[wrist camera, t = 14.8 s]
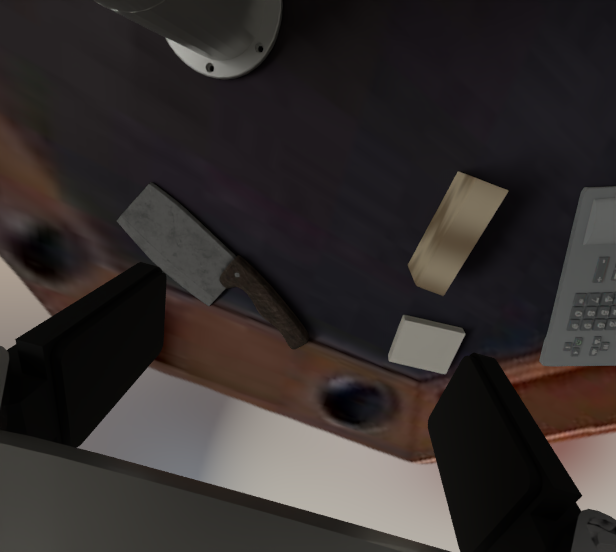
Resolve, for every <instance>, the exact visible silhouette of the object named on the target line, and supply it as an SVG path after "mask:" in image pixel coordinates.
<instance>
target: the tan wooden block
mask: <svg viewBox="0 0 616 552" xmlns="http://www.w3.org/2000/svg"><path fill="white" fill-rule="evenodd" d="M507 193H508V190H506V189H503V188H500V187H498V186H495V185H493V184H490V183H488V182H485V181H482V180H480V179H477V178H475V177H472V176H469V175H467V174H464V173H461V172H459V171H458V172H457V174H456V176H455V178H454V180H453V182H452V184H451V185H450V187H449V189H448V191H447V193H446V195H445V197H444V199H443V200H442V202H441V204H440V206H439V208H438V210H437V212H436V213H435V215H434V217H433V219H432V221H431V223H430V225H429V227H428V228H427V230H426V232H425V234H424V236H423V238H422V240H421V241H420V243H419V245H418V247H417V249H416V251H415V253H414V255H413V256H412V258H411V260H410V262H409V264H408V267H409V270H410V272H411V274H412V277H413V279H414V281H415V284H416V286H418V287H421V288H424V289H426V290H429V291H432V292H434V293H437V294H440V295H442V296H444V294H445V293H446V291H447V289H448V288H449V286H450V285H451V283H452V281H453V280H454V278H455V277H456V275H457V273H458V272H459V270H460V268H461V267H462V265H463V264H464V262H465V260H466V259H467V257H468V256H469V254H470V252H471V251H472V249H473V248H474V246H475V244H476V243H477V241H478V240H479V238H480V236H481V235H482V233H483V231H484V230H485V228H486V227H487V225H488V223H489V222H490V220H491V219H492V217H493V215H494V214H495V212H496V211H497V209H498V207H499V206H500V204H501V202H502V201H503V199H504V198H505V196H506V194H507Z"/></svg>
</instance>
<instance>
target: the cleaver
mask: <svg viewBox="0 0 616 552" xmlns="http://www.w3.org/2000/svg"><path fill="white" fill-rule="evenodd" d="M117 222H118V223H119V224H120V225H121V226H122V228H123V229H124V230H125V231H126V232H127V233H128V235H129V236H130V237H131V238H132V239H133V240H134V241H135V243H136V244H137V245H138V246H139V247H140V248H141V249H142V250H143V251H144V253H145V254H146V255H147V256H148V257H149V258H150V259H151V260H152V261H153V262H154V263H155V264H156V265H157V266H158V267H160V268H161V270H163V271H164V272H165V273H166V274H167V275H168V276H170V277H171V278H172V279H173V280H174V281H176V282H177V283H178V284H179V285H181V286H182V287H183V288H184V289H186V290H187V291H188V292H190V293H191V294H192V295H194V296H195V297H197V298H198V299H199V300H201V301H202V302H203V303H205V304H206V305H208V306H210V305H211V304H212V303H213V302H214V301H215V299H216V298H217V297H218V296H219V295H220V294H221V293H222V292H223V291H224V290H225V289H226V288H232V287H239V288H241V289H243V290H244V291H245V292H246V293H247V294H248V295H249V297H250V298H251V300H252V301H253V303H254V305H255V307H256V309H257V310H258V312H259V313H260V314H261V316H262V317H264V318H265V319H266V320H267V321H268V322H270V323H271V324H272V325H274V326H275V327H276V328H277V329H278V330H279V331H280V332H281V334H282V335H283V337H284V338H285V340H286V342H287V343H288V345H289V346H290V348H291V349H297V348H299V347H301V346H302V345H304V344H305V343H307V342H308V339H309V334H308V332H307V331H306V329H305V327H304V326H303V324H302V323H301V322H300V320H299V319H298V318H297V316H296V315H295V314H294V313H293V311H292V310H291V309H290V308H289V306H288V305H287V304H286V303H285V302H284V300H283V299H282V298H281V297H280V296H279V294H278V293H277V292H276V291H275V290H274V289H273V288H272V286H271V285H270V284H269V283H268V282H267V281H266V280H265V279H264V278H263V277H262V276H261V275H260V274H259V273H258V272H257V271H256V270H255V269H254V268H253V267H252V266H251V265H250V264H249V263H248V262H247V261H246V260H245V259H244V258H243V257H241V256H240V255H238V256H236V255H234V254H233V253H232V252H231V251H230V250H229V249H228V248H227V247H226V246H225V245H224V244H223V243H222V242H221V241H220V240H219V239H218V238H216V237H215V236H214V235H213V234H212V233H211V232H210V231H209V230H208V229H207V228H206V227H205V226H204V225H203V224H202V223H201V222H200V221H198V220H197V219H196V218H195V217H194V216H193V215H192V214H191V213H190V212H189V211H188V210H186V209H185V208H184V207H183V206H182V205H181V204H180V203H179V202H177V201H176V200H175V199H174V198H172V197H171V196H170V195H168V194H167V193H166V192H165V191H163V190H162V189H161V188H159V187H158V186H157V185H155V184H154V183H152V182H151V183H149V184H148V186H147V187H146V188H145V189H144V190H143V191H142V192H141V193H140V195H139V196H138V197H137V198H136V199H135V200H134V201H133V202H132V203H131V205H130V206H129V207H128V208H127V209H126V210H125V211H124V212H123V214H122V215H121V216H120V217H119V219H118V220H117Z"/></svg>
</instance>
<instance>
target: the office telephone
mask: <svg viewBox="0 0 616 552" xmlns="http://www.w3.org/2000/svg"><path fill="white" fill-rule="evenodd" d="M540 363H541V364H542V365H544V366H602V365H616V186H610V187H585V188H584V189H583V190H582V191H581V195H580V199H579V203H578V207H577V211H576V215H575V219H574V223H573V227H572V232H571V236H570V240H569V244H568V249H567V253H566V257H565V261H564V266H563V270H562V274H561V278H560V283H559V287H558V291H557V295H556V300H555V304H554V308H553V312H552V316H551V321H550V325H549V329H548V333H547V336H546V338H545V341H544V344H543V348H542V352H541V357H540Z"/></svg>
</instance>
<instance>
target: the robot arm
mask: <svg viewBox="0 0 616 552" xmlns="http://www.w3.org/2000/svg"><path fill="white" fill-rule="evenodd" d="M93 1H95V2H97V3H98V4H100V5H102V6H104V7H106V8H108V9H110V10H112V11H114V12H116V13H118V14H120V15H122V16H124V17H126V18H128V19H130V20H132V21H134V22H136V23H138V24H140V25H142V26H144V27H146V28H148V29H150V30H152V31H154V32H156V33H158V34H160V35H162V36H164V37H165V38H166V40H167V42H168V44H169V45H170V47H171V48H172V49H173V51H174V52H175V54H176V55H177V56H178V57H179V58H180V59H181V60H182V61H183V62H184V63H185V64H186V65H188V66H189V67H191V68H192V69H193V70H195V71H197V72H199V73H201V74H203V75H206V76H208V77H212V78H215V79H225V80H227V79H234V78H239V77H241V76H244V75H246V74H248V73H250V72H251V71H253V70H254V69H256V68H257V67H258V66H259V65H260V64H261V63H262V62H263V61H264V60H265V59H266V57H267V56H268V54H269V53H270V51H271V50H272V48H273V46H274V44H275V41H276V39H277V37H278V34H279V29H280V25H281V21H282V10H283V0H93ZM260 47H263V52H260V51H259V49H260ZM213 66H214V71H213V72H212V71H211V68H212V67H213ZM165 299H166V274H165V273H162V270H161V268H160V267H157V266H154V265H150V264H146V263H142V262H140V263H137V264H136V265H134V266H133V267H131V268H129V269H128V270H126V271H125V272H123V273H121V274H120V275H118V276H117V277H115V278H113V279H112V280H110V281H108V282H107V283H105V284H104V285H102V286H100V287H99V288H97V289H96V290H94V291H92V292H91V293H89V294H88V295H86V296H84V297H83V298H81V299H79V300H78V301H76V302H75V303H73V304H71V305H70V306H68V307H67V308H65V309H63V310H62V311H60V312H59V313H57V314H55V315H54V316H52V317H51V318H49V319H47V320H46V321H44V322H43V323H41V324H39V325H38V326H36V327H34V328H33V329H31V330H30V331H28V332H26V333H25V334H23V335H22V336H20V337H18V338H17V339H16V345H14V346H13V347H11V348H9V349H8V350H6V349H5V348H4V347H2V346H0V552H450V551H447V550H443V549H440V548H436V547H433V546H429V545H425V544H422V543H419V542H415V541H412V540H408V539H405V538H401V537H398V536H394V535H391V534H387V533H384V532H380V531H377V530H373V529H370V528H366V527H362V526H359V525H355V524H352V523H348V522H344V521H341V520H338V519H334V518H331V517H327V516H324V515H320V514H316V513H312V512H309V511H306V510H302V509H298V508H295V507H291V506H288V505H284V504H281V503H277V502H273V501H270V500H266V499H263V498H259V497H256V496H252V495H248V494H245V493H241V492H237V491H234V490H230V489H227V488H223V487H219V486H216V485H212V484H208V483H205V482H201V481H198V480H194V479H190V478H187V477H183V476H179V475H176V474H172V473H169V472H165V471H161V470H157V469H154V468H150V467H147V466H143V465H139V464H136V463H132V462H128V461H124V460H121V459H117V458H114V457H109V456H106V455H103V454H99V453H95V452H90V451H87V450H83V449H79V448H77V447H78V446H80V445H81V444H82V443H83V442H84V441H85V439H86V438H87V437H88V436H89V435H90V434H91V432H92V431H93V430H94V429H95V428H96V427H97V425H98V424H99V423H100V422H101V421H102V420H103V419H104V417H105V416H106V415H107V414H108V413H109V412H110V410H111V409H112V408H113V407H114V406H115V405H116V403H117V402H118V401H119V400H120V399H121V398H122V396H123V395H124V394H125V393H126V392H127V390H128V389H129V388H130V387H131V386H132V385H133V384H134V382H135V381H136V380H137V379H138V378H139V377H140V376H141V374H142V373H143V372H144V371H145V370H146V369H147V367H148V366H149V365H150V364H151V363H152V362H153V360H154V359H155V358H156V357H157V356H158V355H159V353H160V351H161V349H162V346H163V339H164V319H165ZM428 430H429V434H430V438H431V442H432V446H433V449H434V453H435V457H436V461H437V465H438V469H439V472H440V476H441V480H442V484H443V488H444V492H445V495H446V499H447V503H448V507H449V511H450V515H451V519H452V523H453V527H454V530H455V534H456V538H457V542H458V546H459V549H460V552H616V520H615V519H613V518H612V517H610V516H608V515H606V514H604V513H601V512H599V511H595V510H591V509H587V510H583V511H581V510H580V509H579V507H578V505H577V504H576V501H577V500H578V499H580V498H581V496H582V495H581V493H580V492H579V490H578V488H577V487H576V485H575V484H574V482H573V480H572V479H571V477H570V476H569V474H568V473H567V471H566V470H565V468H564V466H563V465H562V463H561V462H560V460H559V459H558V457H557V455H556V454H555V452H554V451H553V449H552V447H551V446H550V444H549V443H548V441H547V439H546V438H545V436H544V435H543V433H542V432H541V430H540V428H539V427H538V425H537V424H536V422H535V421H534V419H533V417H532V416H531V414H530V413H529V411H528V409H527V408H526V406H525V405H524V403H523V402H522V400H521V398H520V397H519V395H518V394H517V392H516V391H515V389H514V387H513V386H512V384H511V383H510V381H509V379H508V378H507V376H506V375H505V373H504V372H503V370H502V368H501V367H500V365H499V364H498V362H497V361H496V360H495V359H494V358H492V357H488V356H484V355H481V354H477V353H472V354H471V355H470V356H465V357H464V358H463V359H462V361H461V362H460V364H459V366H458V368H457V369H456V371H455V373H454V375H453V376H452V378H451V380H450V382H449V383H448V385H447V387H446V389H445V390H444V392H443V394H442V396H441V397H440V399H439V401H438V403H437V404H436V406H435V408H434V409H433V411H432V413H431V415H430V417H429V420H428Z"/></svg>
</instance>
